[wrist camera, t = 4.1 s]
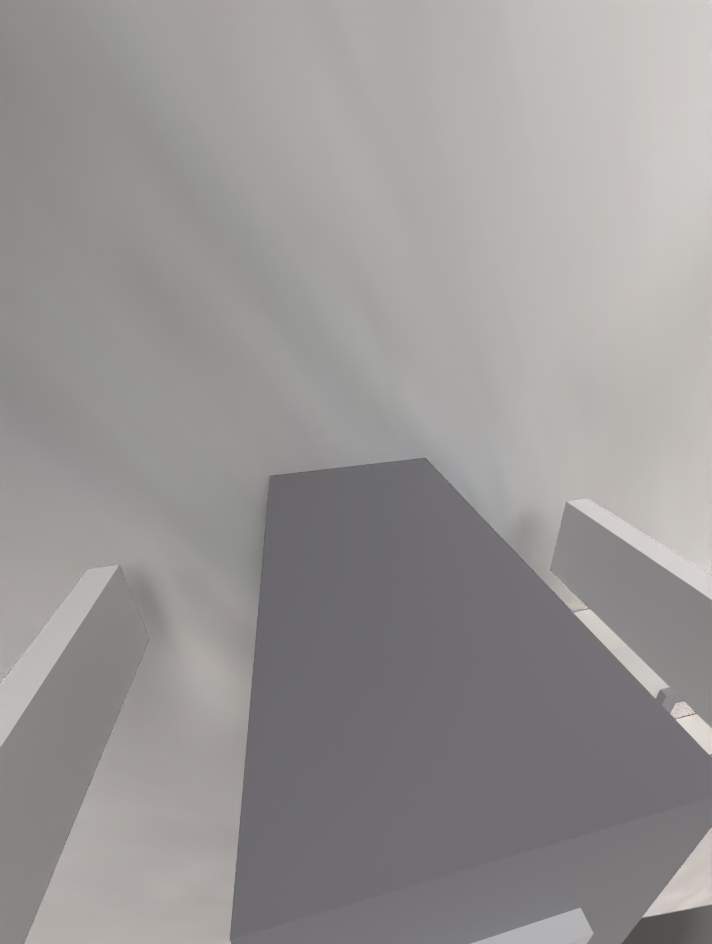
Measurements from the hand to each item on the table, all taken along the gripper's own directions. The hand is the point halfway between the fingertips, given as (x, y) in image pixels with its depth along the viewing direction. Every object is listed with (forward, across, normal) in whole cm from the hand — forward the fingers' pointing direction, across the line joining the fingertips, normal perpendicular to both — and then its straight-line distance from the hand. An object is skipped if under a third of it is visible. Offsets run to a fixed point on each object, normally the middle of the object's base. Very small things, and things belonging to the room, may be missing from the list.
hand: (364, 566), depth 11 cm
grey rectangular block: (+2, 0, 0) cm, 2 cm away
